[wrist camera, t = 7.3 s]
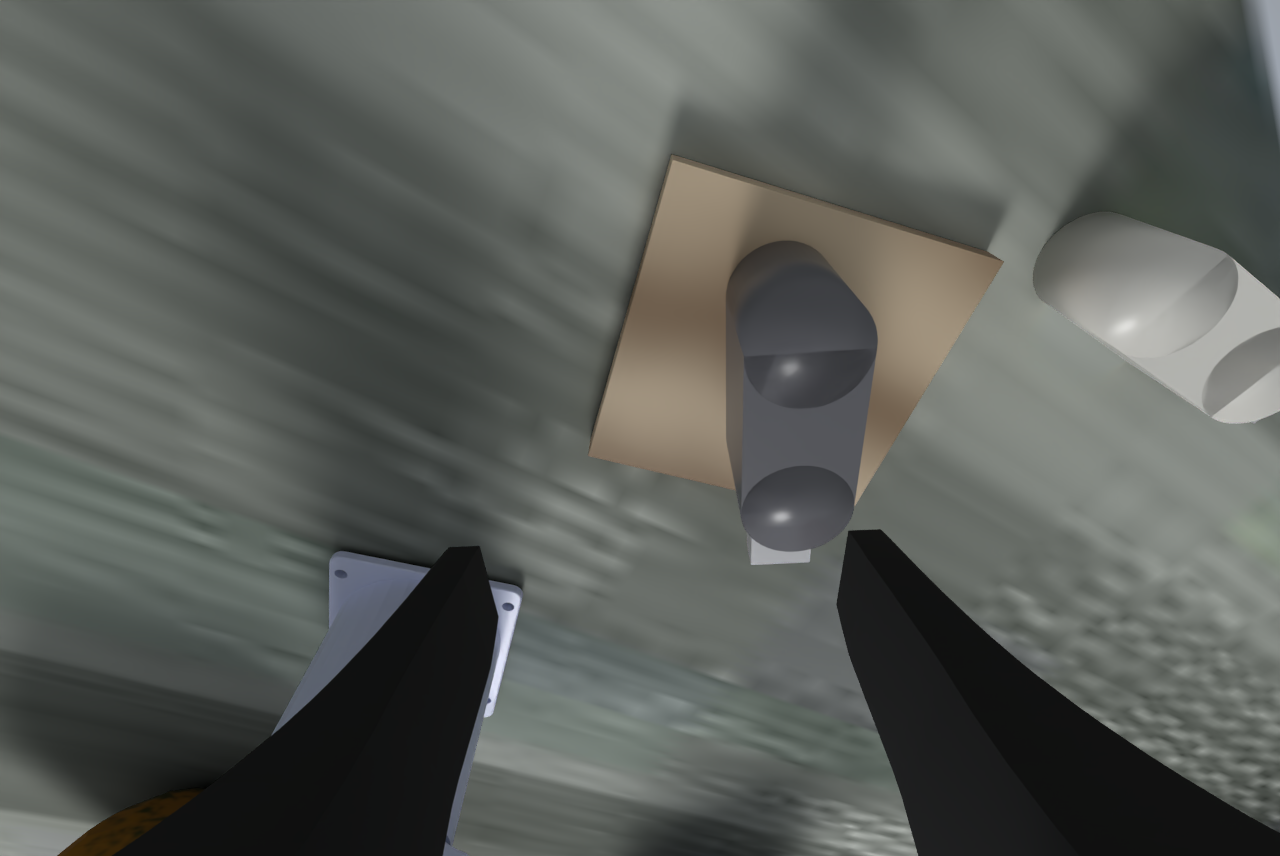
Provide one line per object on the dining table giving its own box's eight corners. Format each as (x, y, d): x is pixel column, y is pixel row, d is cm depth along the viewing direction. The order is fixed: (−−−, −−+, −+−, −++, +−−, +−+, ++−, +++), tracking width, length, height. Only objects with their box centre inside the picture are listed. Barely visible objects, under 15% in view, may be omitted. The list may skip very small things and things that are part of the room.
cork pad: (841, 499, 23) (848, 516, 23) (590, 440, 22) (588, 455, 21) (987, 251, 18) (1003, 261, 17) (671, 153, 17) (673, 159, 16)
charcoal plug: (725, 244, 17) (744, 293, 14) (839, 236, 17) (886, 283, 14) (726, 521, 23) (739, 604, 19) (812, 517, 23) (840, 599, 19)
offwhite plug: (1011, 278, 19) (1082, 323, 16) (1094, 191, 17) (1190, 222, 14) (1187, 405, 21) (1278, 465, 18) (1272, 336, 20) (1387, 390, 17)
